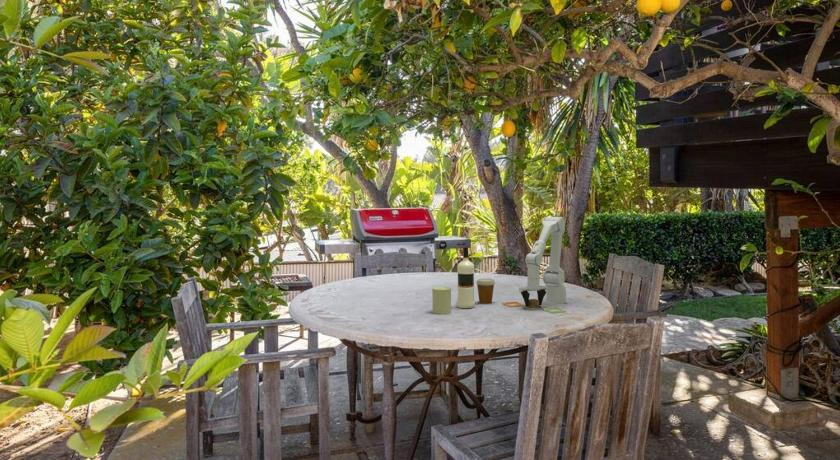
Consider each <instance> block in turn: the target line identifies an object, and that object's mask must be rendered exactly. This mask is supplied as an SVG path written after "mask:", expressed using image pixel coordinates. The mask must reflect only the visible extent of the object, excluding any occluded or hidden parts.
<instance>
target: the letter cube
mask: <svg viewBox="0 0 840 460" xmlns="http://www.w3.org/2000/svg"><path fill="white" fill-rule="evenodd" d="M528 307H529V308H539V300H538V298H537V299H536V298H529V306H528Z"/></svg>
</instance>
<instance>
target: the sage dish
mask: <svg viewBox="0 0 840 460" xmlns="http://www.w3.org/2000/svg"><path fill="white" fill-rule="evenodd" d="M542 311H544V312H546V313H549V314H553V315H554V314H562V313H563V314H564V313H567V309H563V308H561V307H558V306H555V307H545V308H543V309H542Z"/></svg>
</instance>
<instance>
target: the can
mask: <svg viewBox="0 0 840 460" xmlns="http://www.w3.org/2000/svg"><path fill="white" fill-rule="evenodd" d="M431 289H432V311H431V312H432V313H433V314H437V315H446V314H451V313H452V287H450V286H434V287H432V288H431Z"/></svg>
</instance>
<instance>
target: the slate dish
mask: <svg viewBox="0 0 840 460" xmlns="http://www.w3.org/2000/svg"><path fill="white" fill-rule="evenodd" d="M521 308H523V309H525V310H528V311H537V310H538V311H539V310H543V308H546V307H544V306H542V305H539V308H529V307H527V306H525V304H524V305H522V306H521Z"/></svg>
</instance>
